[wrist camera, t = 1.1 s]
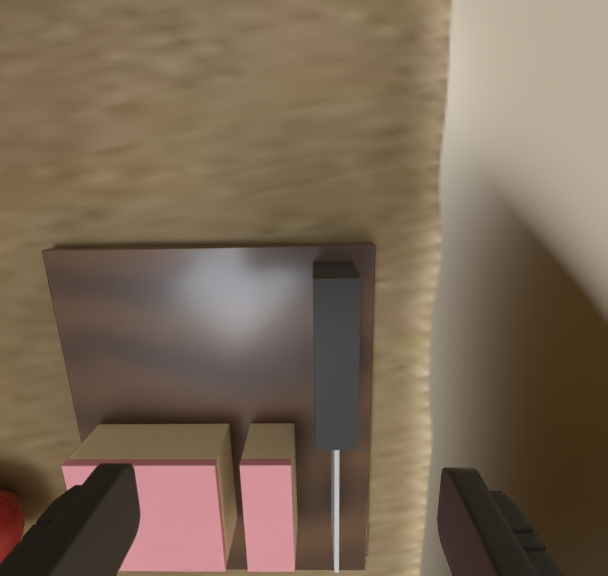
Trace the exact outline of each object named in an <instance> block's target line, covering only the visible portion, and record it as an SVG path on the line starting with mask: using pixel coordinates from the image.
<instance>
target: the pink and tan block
mask: <svg viewBox="0 0 608 576" xmlns="http://www.w3.org/2000/svg"><path fill="white" fill-rule="evenodd" d="M239 467H240V480H241V492H242V505H243V517H244V530H245V542H246V555H247V568H248V571H249V572H295V561H296V540H297V487H296V456H295V425H294V423H251V424H250V427H249V431H248V435H247V439H246V442H245V446H244V450H243V454H242V458H241V462H240V465H239Z"/></svg>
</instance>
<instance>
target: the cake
mask: <svg viewBox="0 0 608 576" xmlns="http://www.w3.org/2000/svg"><path fill="white" fill-rule="evenodd" d="M101 463H130V464H132V465H133V467H134V470H135V476H136V483H137V490H138V497H139V504H140V524H139V528H138V532H137V535H136V538H135V540H134V542H133V544H132V546H131V548H130V550H129V551H128V553H127V555H126V557H125V559H124V561H123V563H122V565H121V567H120V569H119V571H226V566H227V561H228V557H229V553H230V548H231V544H232V539H233V535H234V531H235V526H236V522H237V508H236V496H235V484H234V472H233V461H232V449H231V437H230V425H229V424H99V425H98V426H97V427H96V428H95V429H94V430H93V432H92V433H91V434H90V435H89V436H88V437H87V438H86V439H85V441H84V442H83V443H82V444H81V445H80V446H79V447H78V448H77V450H76V451H75V452H74V453H73V454H72V455H71V456H70V457H69V459H68V460H67V461H66V462H65V463H64V464H63V465H62V470H63V474H64V479H65V483H66V487H67V491H68V490H69V489H70V488H72V487H73V486H74V485H82V484H83V483H84V482H85V480H86V479H87V478H88V477H89V475H90V474H91V473H92V472H93V470H94V469H95V468H96V467H97V466H98V465H99V464H101Z"/></svg>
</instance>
